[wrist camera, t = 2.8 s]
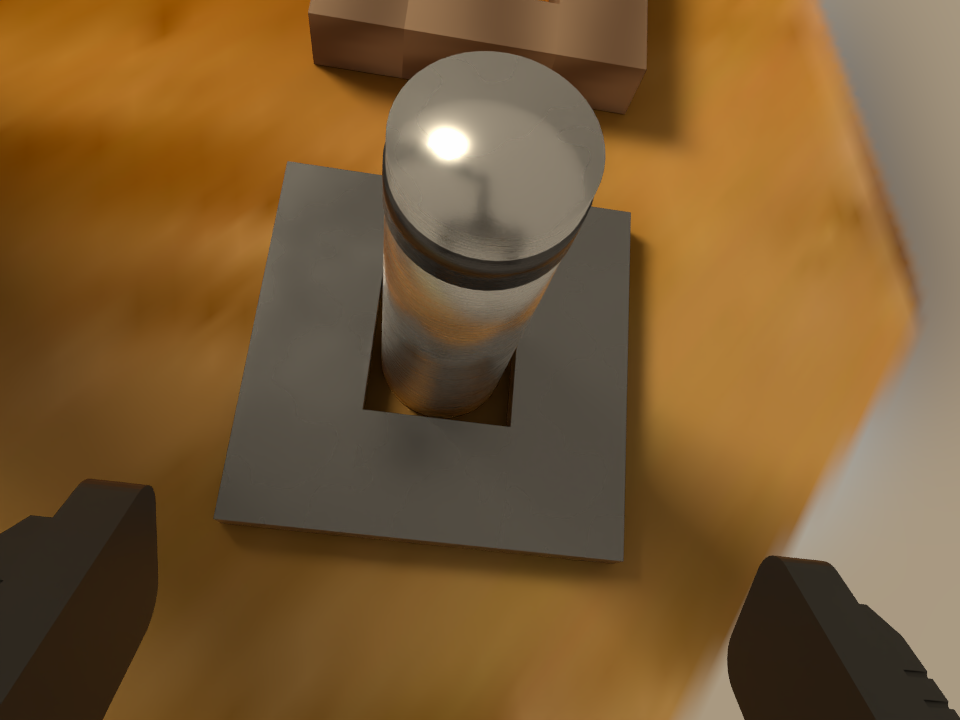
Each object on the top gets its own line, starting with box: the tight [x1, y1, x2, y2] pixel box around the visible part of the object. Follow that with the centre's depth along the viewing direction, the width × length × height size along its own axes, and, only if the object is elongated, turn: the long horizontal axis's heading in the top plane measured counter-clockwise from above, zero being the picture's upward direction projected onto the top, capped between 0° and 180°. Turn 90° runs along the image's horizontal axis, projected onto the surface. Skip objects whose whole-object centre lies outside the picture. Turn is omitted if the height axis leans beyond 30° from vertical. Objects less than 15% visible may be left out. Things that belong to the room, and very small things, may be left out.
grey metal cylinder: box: [382, 51, 605, 418], centre depth 19 cm, size 4×4×12 cm
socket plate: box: [213, 161, 631, 564], centre depth 24 cm, size 12×12×1 cm
